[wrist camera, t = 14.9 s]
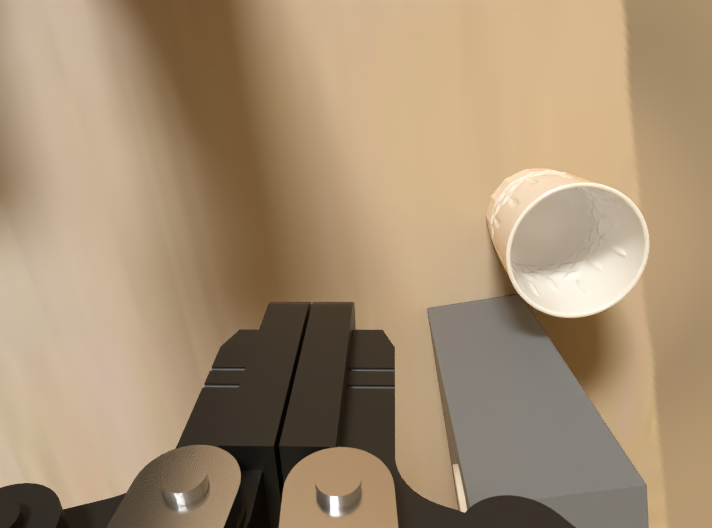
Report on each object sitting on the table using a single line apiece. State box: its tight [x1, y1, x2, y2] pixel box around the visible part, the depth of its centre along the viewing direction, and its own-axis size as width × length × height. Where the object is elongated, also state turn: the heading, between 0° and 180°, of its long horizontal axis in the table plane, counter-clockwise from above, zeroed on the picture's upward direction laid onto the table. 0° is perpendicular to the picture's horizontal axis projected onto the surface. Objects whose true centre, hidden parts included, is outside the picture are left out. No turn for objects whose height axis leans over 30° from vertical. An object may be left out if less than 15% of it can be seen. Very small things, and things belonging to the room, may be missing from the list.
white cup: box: [486, 168, 649, 318], centre depth 38 cm, size 8×8×10 cm
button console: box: [427, 294, 649, 528], centre depth 37 cm, size 7×20×22 cm, turn 10°
